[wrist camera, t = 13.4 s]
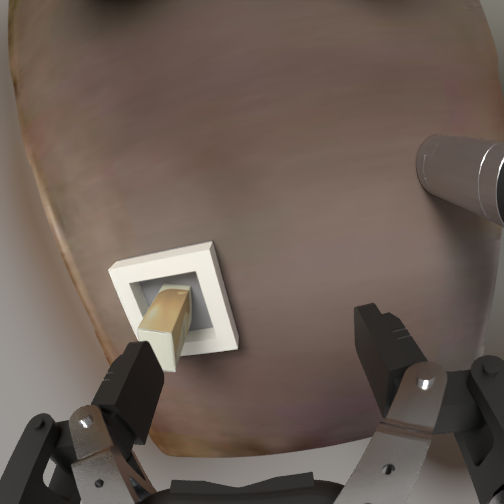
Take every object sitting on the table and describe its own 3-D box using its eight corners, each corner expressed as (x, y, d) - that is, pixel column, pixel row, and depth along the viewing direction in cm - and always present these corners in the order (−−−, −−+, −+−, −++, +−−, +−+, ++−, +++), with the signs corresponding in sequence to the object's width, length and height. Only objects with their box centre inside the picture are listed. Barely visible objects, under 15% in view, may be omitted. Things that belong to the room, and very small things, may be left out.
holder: (212, 240, 41) (209, 249, 38) (238, 335, 47) (237, 349, 44) (117, 260, 43) (108, 269, 39) (152, 345, 48) (147, 359, 45)
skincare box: (192, 320, 46) (176, 375, 34) (165, 317, 45) (143, 370, 34) (191, 283, 43) (172, 333, 32) (162, 280, 43) (135, 329, 32)
